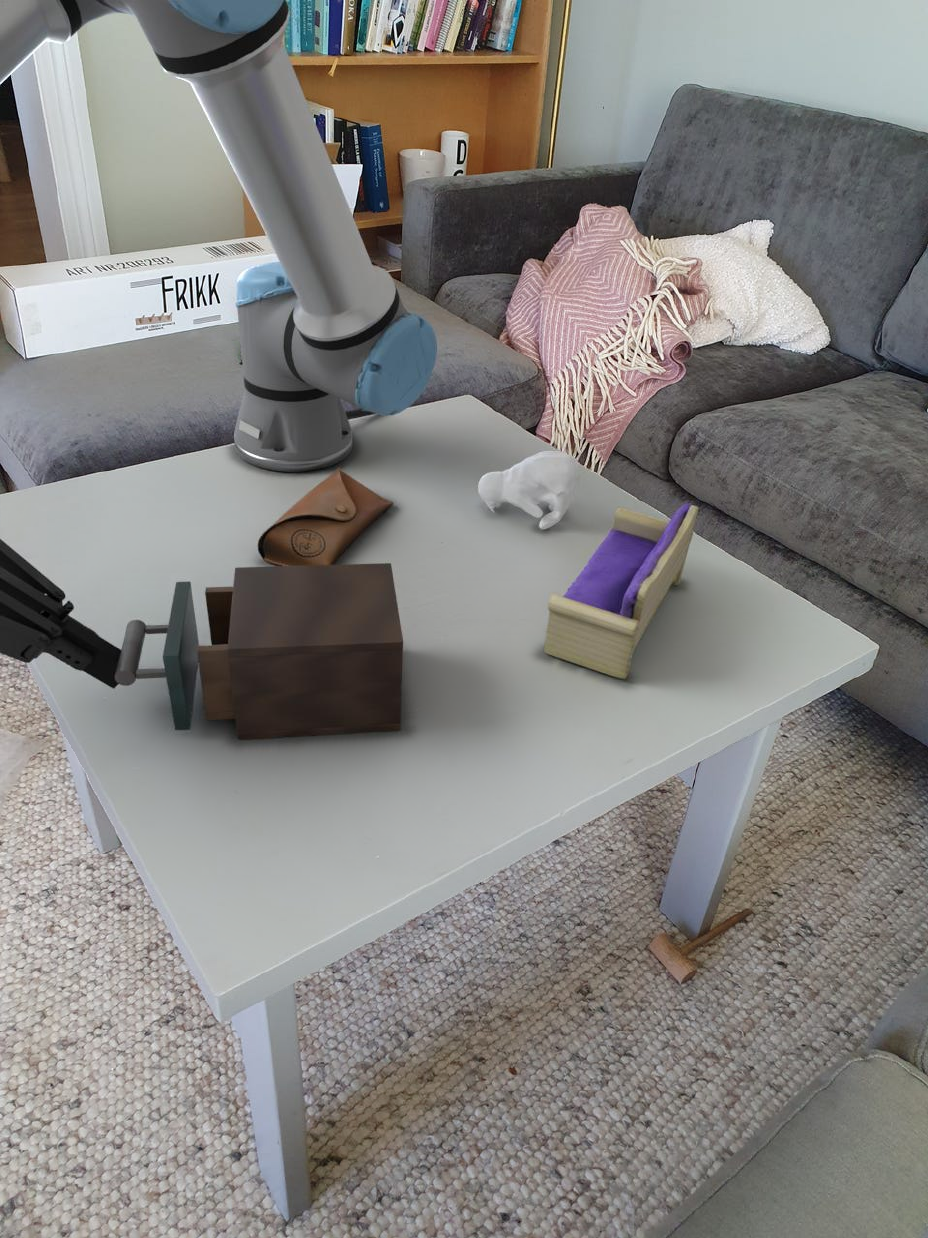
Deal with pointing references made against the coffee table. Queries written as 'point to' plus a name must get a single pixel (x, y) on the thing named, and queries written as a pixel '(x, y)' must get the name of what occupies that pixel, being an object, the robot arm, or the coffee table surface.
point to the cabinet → (315, 650)
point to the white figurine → (534, 485)
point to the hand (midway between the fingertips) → (124, 674)
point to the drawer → (186, 655)
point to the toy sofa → (619, 591)
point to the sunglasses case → (322, 523)
